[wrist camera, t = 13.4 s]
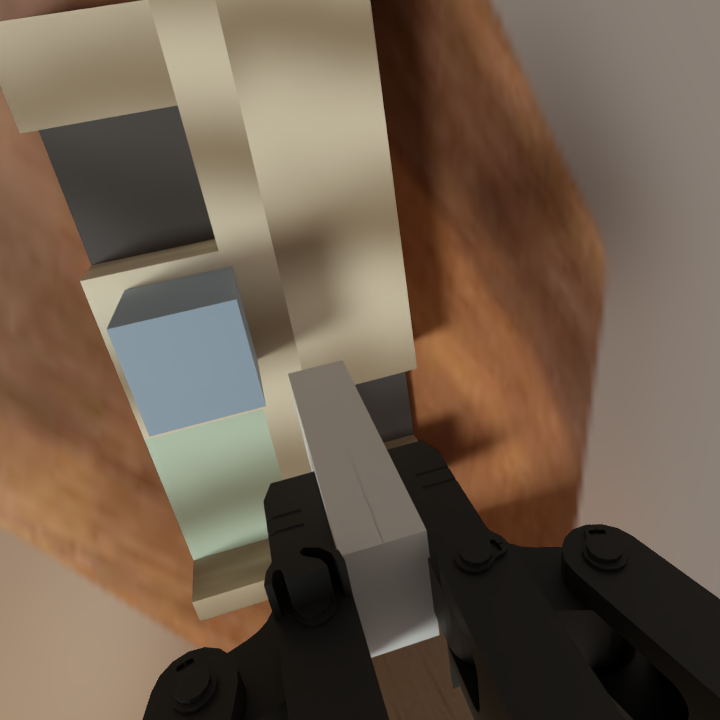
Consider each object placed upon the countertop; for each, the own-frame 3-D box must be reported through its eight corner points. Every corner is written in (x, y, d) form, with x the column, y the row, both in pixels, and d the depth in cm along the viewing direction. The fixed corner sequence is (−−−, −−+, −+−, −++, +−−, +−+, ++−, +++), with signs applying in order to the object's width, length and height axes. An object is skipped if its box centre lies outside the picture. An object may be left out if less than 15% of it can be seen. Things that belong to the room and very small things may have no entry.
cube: (124, 290, 20) (106, 329, 17) (232, 266, 21) (236, 299, 18) (158, 383, 22) (149, 436, 19) (257, 359, 23) (266, 406, 19)
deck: (3, 34, 19) (-61, 13, 14) (349, -20, 20) (387, -52, 16) (201, 542, 29) (200, 621, 25) (418, 478, 31) (453, 541, 26)
